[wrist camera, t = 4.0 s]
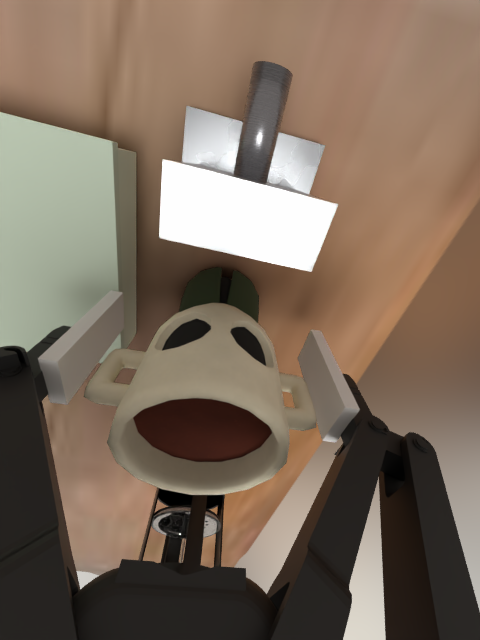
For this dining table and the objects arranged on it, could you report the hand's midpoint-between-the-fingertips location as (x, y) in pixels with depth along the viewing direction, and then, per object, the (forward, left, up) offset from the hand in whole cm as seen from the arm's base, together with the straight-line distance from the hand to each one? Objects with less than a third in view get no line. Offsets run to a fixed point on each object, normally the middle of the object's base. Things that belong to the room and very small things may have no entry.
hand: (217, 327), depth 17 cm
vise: (0, 0, -4) cm, 4 cm away
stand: (-14, +2, -4) cm, 15 cm away
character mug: (0, 0, -4) cm, 4 cm away
